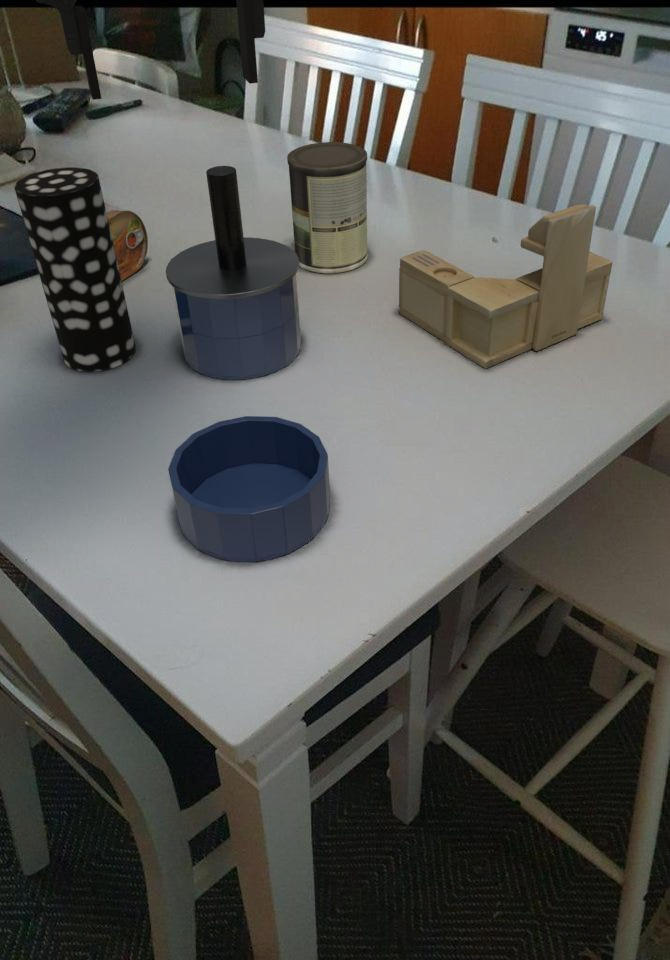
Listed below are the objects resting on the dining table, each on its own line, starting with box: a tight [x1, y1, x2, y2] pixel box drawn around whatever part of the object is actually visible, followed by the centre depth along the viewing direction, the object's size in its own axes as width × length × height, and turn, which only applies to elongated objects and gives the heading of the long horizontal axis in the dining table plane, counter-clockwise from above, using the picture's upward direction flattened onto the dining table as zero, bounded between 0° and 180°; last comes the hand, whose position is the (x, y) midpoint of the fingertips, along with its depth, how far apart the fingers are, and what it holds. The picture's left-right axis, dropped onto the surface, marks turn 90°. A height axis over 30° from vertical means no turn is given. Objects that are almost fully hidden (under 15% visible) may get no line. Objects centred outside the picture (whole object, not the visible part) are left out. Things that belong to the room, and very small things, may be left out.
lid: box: [165, 165, 300, 299], centre depth 85 cm, size 14×14×11 cm
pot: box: [171, 274, 302, 381], centre depth 91 cm, size 13×13×10 cm
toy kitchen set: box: [398, 203, 614, 369], centre depth 93 cm, size 18×17×15 cm
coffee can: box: [286, 141, 369, 275], centre depth 108 cm, size 10×10×14 cm
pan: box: [167, 415, 331, 563], centre depth 71 cm, size 13×13×5 cm
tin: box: [106, 209, 149, 283], centre depth 107 cm, size 15×3×8 cm, turn 153°
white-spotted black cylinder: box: [13, 166, 137, 373], centre depth 88 cm, size 8×8×20 cm
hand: (174, 88), depth 71 cm, fingers open, 13 cm apart
